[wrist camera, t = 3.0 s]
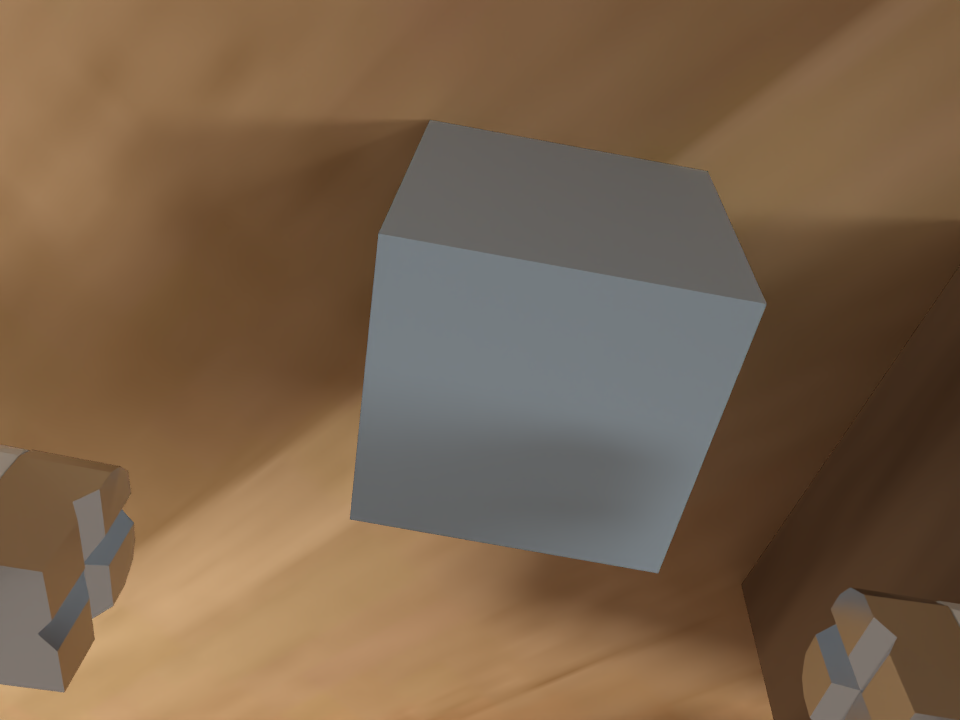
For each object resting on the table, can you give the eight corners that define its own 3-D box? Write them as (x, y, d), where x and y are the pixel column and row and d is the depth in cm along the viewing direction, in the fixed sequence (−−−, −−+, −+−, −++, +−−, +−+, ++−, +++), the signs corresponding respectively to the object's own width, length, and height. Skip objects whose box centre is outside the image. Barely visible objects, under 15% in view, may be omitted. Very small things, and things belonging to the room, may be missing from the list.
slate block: (707, 169, 15) (766, 304, 10) (634, 394, 17) (657, 572, 13) (430, 118, 15) (378, 232, 10) (401, 352, 17) (350, 519, 13)
